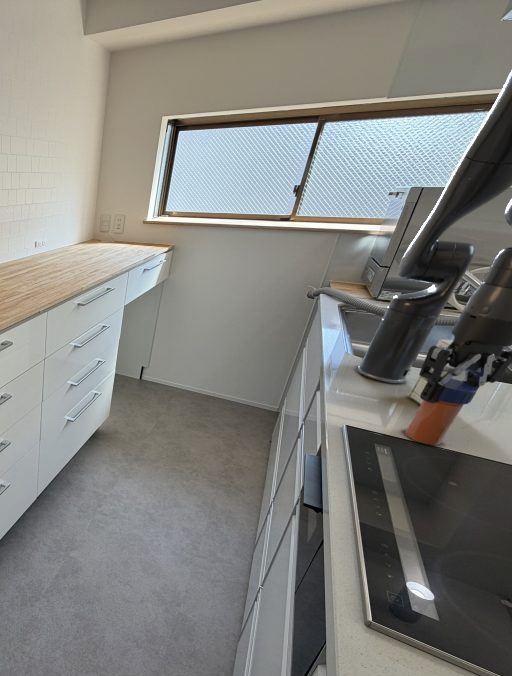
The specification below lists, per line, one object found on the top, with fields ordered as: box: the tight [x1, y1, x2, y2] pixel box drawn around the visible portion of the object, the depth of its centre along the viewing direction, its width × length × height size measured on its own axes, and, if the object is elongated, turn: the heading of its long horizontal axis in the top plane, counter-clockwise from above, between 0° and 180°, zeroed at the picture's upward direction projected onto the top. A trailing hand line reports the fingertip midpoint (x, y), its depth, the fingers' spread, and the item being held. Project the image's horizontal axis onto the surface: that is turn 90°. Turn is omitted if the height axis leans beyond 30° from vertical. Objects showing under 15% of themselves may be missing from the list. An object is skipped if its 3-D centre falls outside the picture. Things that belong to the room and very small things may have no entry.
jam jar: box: [405, 399, 464, 446], centre depth 77 cm, size 5×5×11 cm
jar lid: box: [437, 379, 478, 405], centre depth 75 cm, size 6×6×3 cm
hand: (443, 400), depth 76 cm, fingers closed on jar lid, 6 cm apart
